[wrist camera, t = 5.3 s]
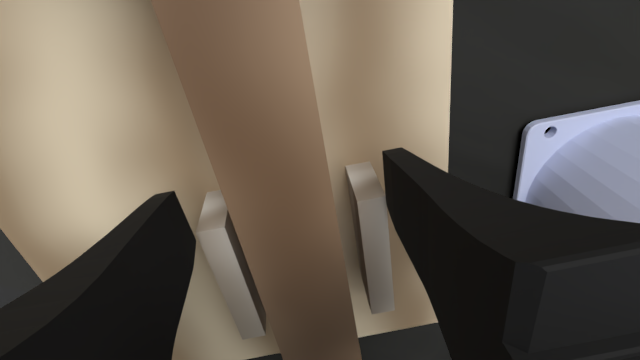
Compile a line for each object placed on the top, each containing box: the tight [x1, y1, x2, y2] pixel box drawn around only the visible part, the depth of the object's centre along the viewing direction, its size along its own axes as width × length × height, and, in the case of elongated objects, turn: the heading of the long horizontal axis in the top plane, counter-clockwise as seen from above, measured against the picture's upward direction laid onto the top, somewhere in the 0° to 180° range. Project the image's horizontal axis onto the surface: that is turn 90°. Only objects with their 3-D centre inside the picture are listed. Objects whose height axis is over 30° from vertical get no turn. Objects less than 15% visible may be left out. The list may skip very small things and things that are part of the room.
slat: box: [151, 0, 362, 360], centre depth 13 cm, size 3×16×4 cm, turn 9°
